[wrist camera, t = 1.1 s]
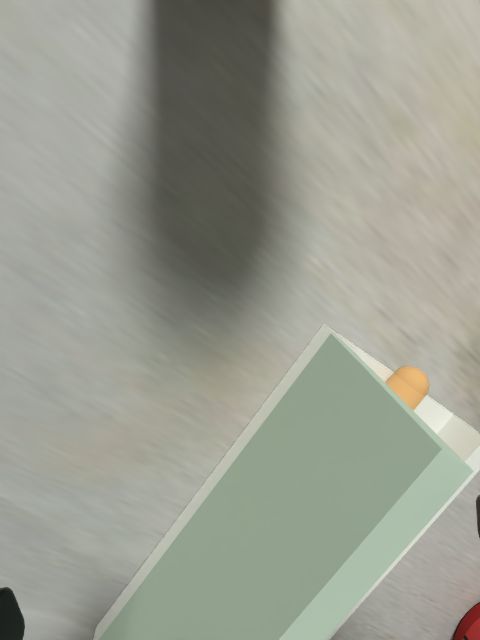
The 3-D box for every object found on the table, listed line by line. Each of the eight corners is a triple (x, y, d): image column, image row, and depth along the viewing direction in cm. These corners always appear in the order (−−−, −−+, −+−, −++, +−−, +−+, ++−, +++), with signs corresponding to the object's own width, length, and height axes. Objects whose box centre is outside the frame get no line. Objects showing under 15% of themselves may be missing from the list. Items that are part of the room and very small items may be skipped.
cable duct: (96, 626, 24) (83, 683, 21) (323, 323, 21) (345, 342, 18) (235, 681, 27) (241, 739, 24) (460, 418, 23) (498, 448, 20)
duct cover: (83, 685, 21) (52, 668, 21) (345, 343, 18) (312, 320, 18) (-52, 1066, 12) (-112, 1042, 11) (474, 471, 8) (400, 420, 8)
